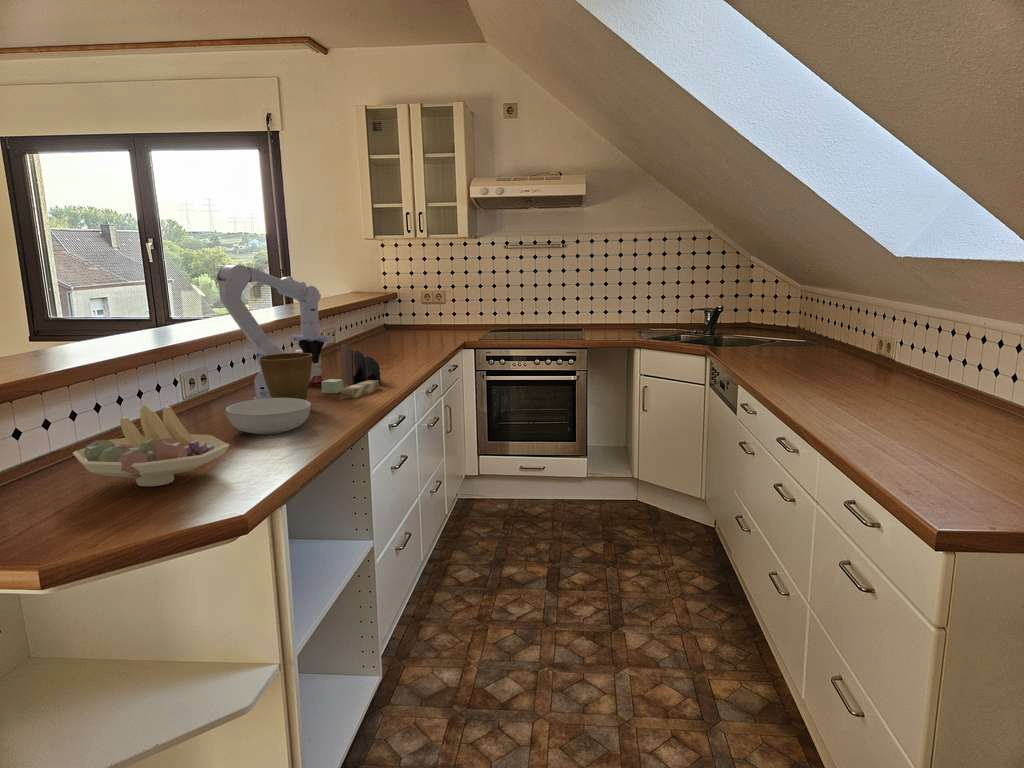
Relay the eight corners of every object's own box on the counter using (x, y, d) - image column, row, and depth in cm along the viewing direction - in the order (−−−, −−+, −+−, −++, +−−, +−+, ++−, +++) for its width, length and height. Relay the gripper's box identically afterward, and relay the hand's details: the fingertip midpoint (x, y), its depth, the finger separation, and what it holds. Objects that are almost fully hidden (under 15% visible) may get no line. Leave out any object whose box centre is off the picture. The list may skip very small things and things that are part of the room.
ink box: (322, 380, 255) (320, 348, 253) (322, 383, 250) (320, 350, 248) (297, 382, 253) (295, 349, 251) (296, 384, 248) (294, 351, 246)
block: (334, 394, 231) (334, 382, 230) (322, 393, 232) (321, 381, 232) (343, 391, 235) (342, 379, 234) (331, 390, 237) (330, 378, 236)
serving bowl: (287, 443, 172) (285, 415, 170) (210, 439, 176) (208, 412, 175) (326, 422, 192) (324, 398, 190) (256, 420, 196) (254, 396, 195)
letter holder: (352, 388, 239) (349, 347, 237) (341, 379, 257) (339, 341, 255) (381, 386, 243) (379, 345, 241) (368, 377, 261) (366, 339, 258)
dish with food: (191, 454, 162) (184, 394, 160) (257, 477, 145) (251, 410, 142) (54, 486, 141) (45, 418, 139) (113, 518, 124) (103, 440, 121)
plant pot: (323, 403, 216) (319, 352, 213) (304, 414, 201) (300, 359, 198) (276, 403, 217) (272, 352, 214) (254, 414, 203) (249, 359, 200)
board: (352, 398, 222) (352, 389, 222) (341, 398, 224) (341, 388, 223) (379, 389, 237) (378, 380, 236) (369, 388, 238) (368, 380, 238)
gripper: (335, 321, 233) (338, 361, 236) (299, 320, 238) (302, 360, 241) (322, 323, 227) (325, 365, 229) (285, 322, 232) (288, 363, 235)
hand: (312, 362), depth 235 cm, fingers closed
